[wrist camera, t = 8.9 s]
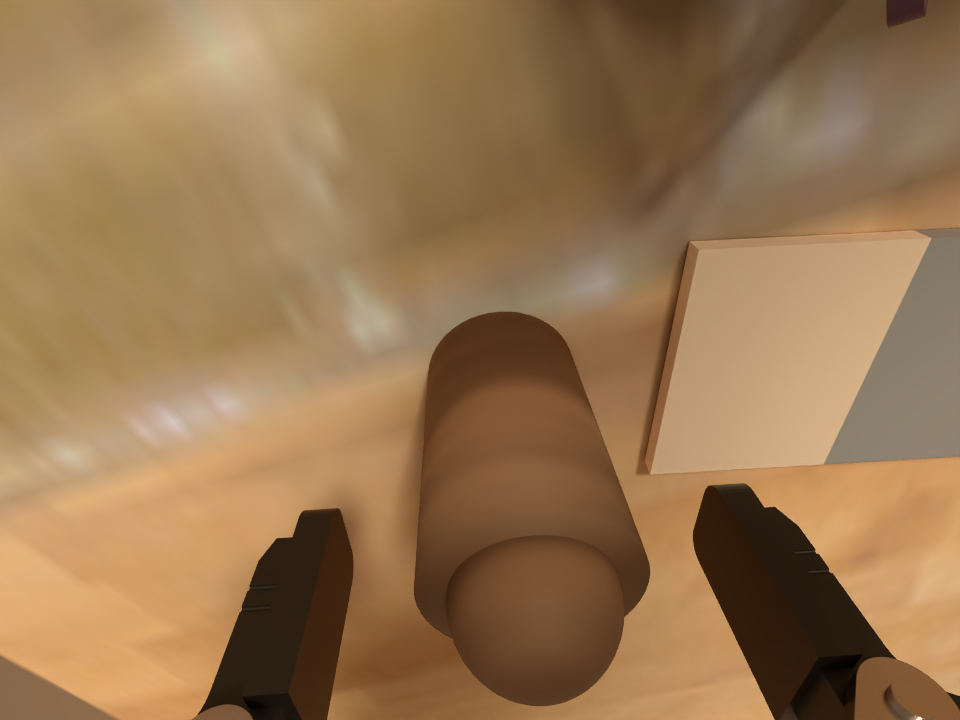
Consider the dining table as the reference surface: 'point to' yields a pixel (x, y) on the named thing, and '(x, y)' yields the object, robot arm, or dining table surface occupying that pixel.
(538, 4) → the dining table surface
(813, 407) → the board
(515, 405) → the brown cylinder
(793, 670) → the robot arm
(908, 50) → the dining table surface
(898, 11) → the game card
